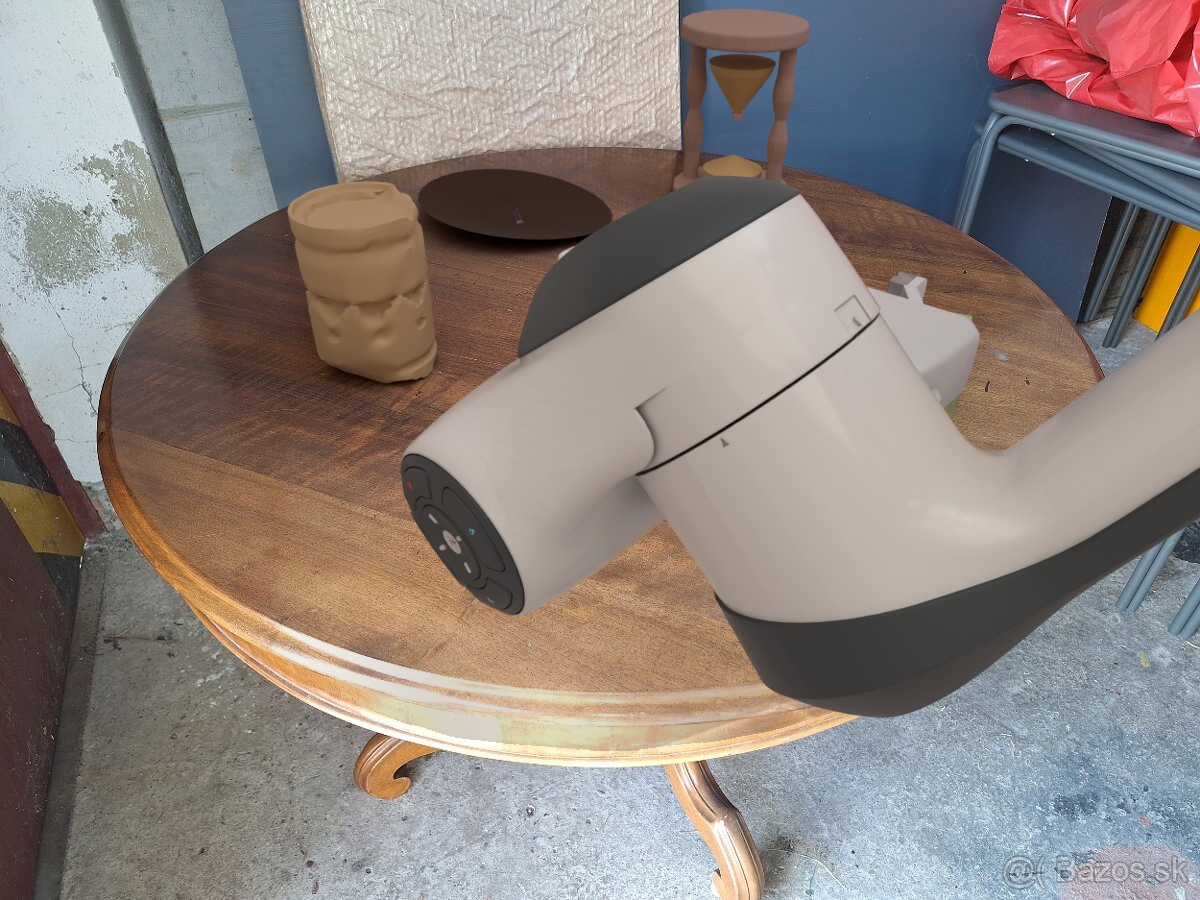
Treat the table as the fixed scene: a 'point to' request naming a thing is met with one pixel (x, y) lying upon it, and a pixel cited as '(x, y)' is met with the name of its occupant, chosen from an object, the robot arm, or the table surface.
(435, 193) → the plate
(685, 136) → the hourglass
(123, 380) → the table surface
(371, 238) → the container
